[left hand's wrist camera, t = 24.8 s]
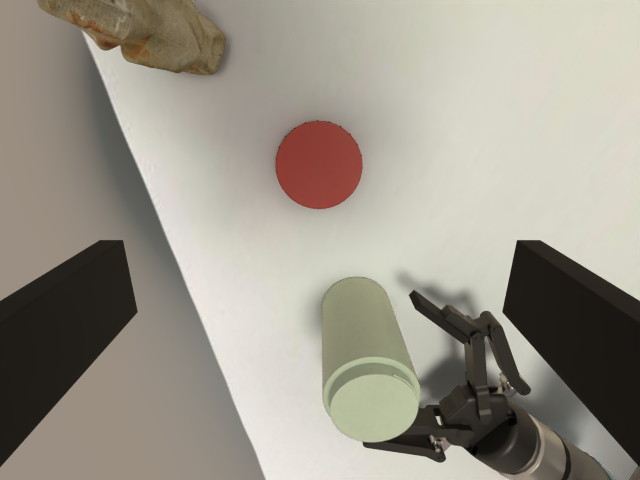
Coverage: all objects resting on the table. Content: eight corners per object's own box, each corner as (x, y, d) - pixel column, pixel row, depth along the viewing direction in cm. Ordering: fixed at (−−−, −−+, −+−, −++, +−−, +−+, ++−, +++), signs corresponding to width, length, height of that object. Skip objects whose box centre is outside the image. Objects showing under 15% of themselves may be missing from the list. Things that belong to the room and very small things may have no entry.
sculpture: (163, -12, 31) (34, -109, 17) (240, 30, 32) (179, -28, 18) (143, 55, 33) (13, 18, 19) (217, 93, 34) (145, 84, 20)
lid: (335, 103, 35) (336, 102, 33) (375, 180, 37) (378, 183, 36) (260, 148, 36) (258, 149, 35) (304, 219, 39) (303, 224, 37)
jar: (365, 345, 44) (387, 460, 30) (309, 317, 43) (304, 423, 29) (403, 296, 42) (446, 395, 28) (344, 265, 41) (358, 352, 26)
